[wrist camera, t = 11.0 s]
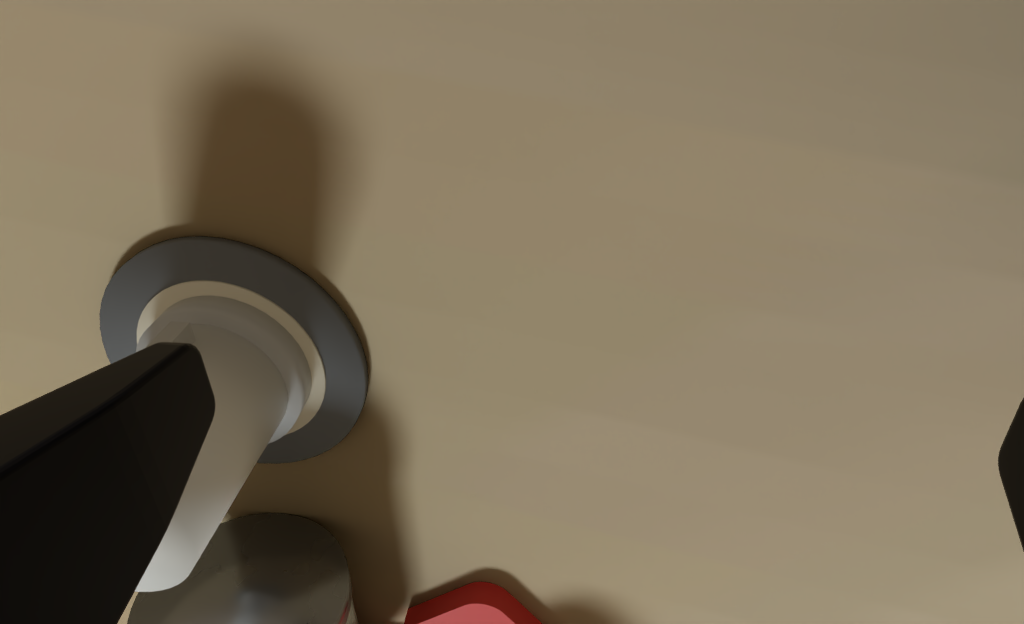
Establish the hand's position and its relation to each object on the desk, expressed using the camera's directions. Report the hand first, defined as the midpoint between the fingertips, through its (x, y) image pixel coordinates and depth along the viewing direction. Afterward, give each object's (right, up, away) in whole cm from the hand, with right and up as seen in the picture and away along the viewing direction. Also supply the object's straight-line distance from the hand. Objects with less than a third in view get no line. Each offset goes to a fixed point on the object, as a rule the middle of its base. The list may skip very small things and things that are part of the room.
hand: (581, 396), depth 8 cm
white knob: (-10, -1, +16) cm, 19 cm away
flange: (-10, -1, +16) cm, 19 cm away
